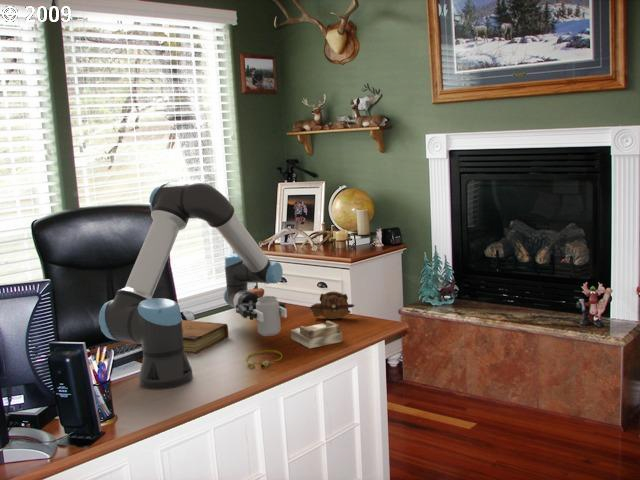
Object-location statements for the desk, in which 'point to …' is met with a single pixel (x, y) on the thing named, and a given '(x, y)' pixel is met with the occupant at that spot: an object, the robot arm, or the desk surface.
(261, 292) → the bull figurine
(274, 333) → the can
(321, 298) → the wooden carving
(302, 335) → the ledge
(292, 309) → the desk surface
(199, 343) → the diary
